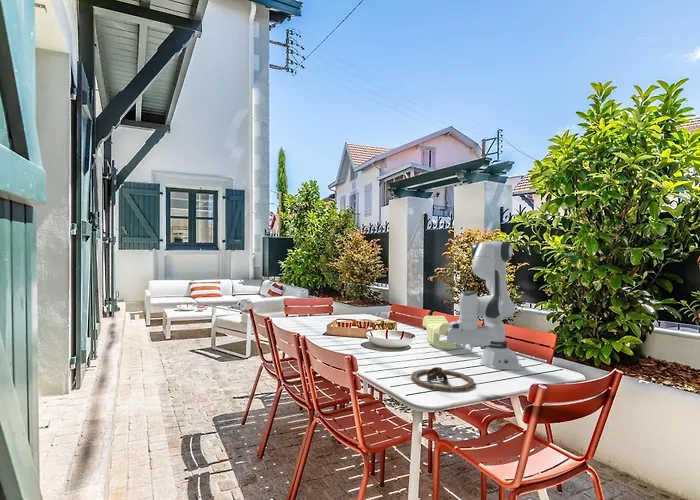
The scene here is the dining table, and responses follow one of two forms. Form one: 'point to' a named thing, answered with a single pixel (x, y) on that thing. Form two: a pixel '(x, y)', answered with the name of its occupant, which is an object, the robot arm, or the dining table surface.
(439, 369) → the dark brown arched piece
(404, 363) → the dining table surface
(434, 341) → the ribbed pale green clamp
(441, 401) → the dining table surface
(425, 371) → the brown flat ring
